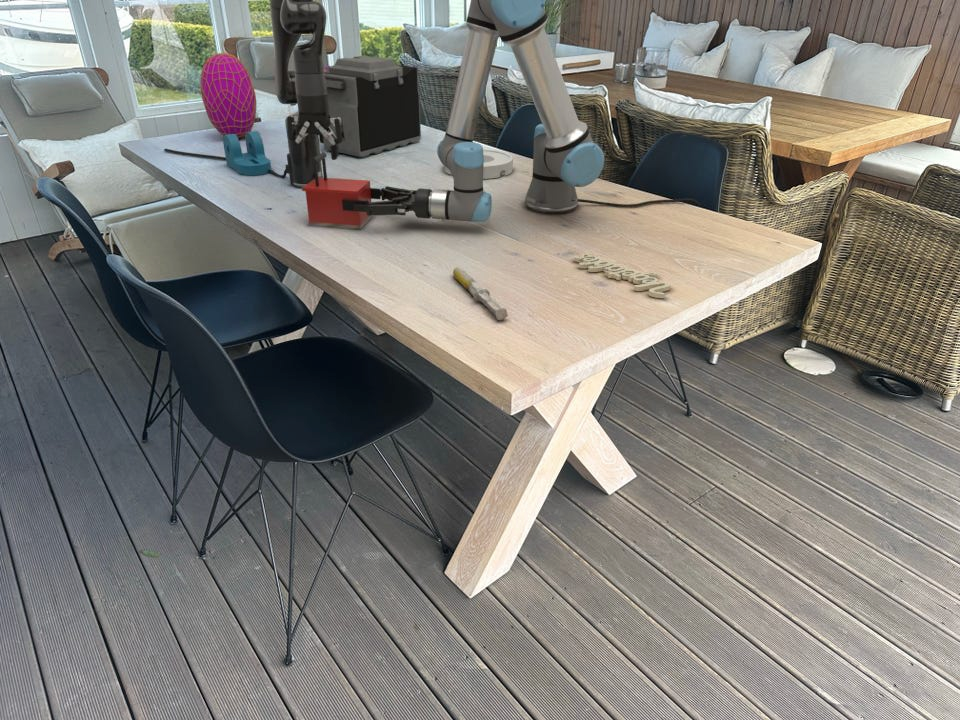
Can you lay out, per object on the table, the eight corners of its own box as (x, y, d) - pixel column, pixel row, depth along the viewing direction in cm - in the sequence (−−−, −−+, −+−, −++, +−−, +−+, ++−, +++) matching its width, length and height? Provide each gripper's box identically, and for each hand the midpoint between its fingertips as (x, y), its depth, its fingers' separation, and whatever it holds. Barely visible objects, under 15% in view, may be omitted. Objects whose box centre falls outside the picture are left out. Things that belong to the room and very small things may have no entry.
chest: (309, 225, 182) (305, 191, 177) (323, 213, 191) (320, 180, 186) (360, 229, 180) (357, 194, 175) (372, 217, 188) (370, 183, 184)
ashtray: (446, 160, 241) (446, 148, 239) (512, 161, 241) (512, 149, 239) (441, 178, 221) (440, 165, 219) (512, 179, 221) (513, 167, 219)
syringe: (449, 274, 155) (449, 263, 153) (465, 272, 156) (464, 260, 154) (490, 323, 135) (491, 310, 133) (508, 319, 136) (508, 307, 134)
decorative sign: (686, 282, 150) (660, 295, 144) (686, 286, 150) (659, 300, 144) (592, 249, 166) (565, 259, 160) (592, 253, 167) (565, 263, 161)
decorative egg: (226, 145, 255) (211, 58, 240) (200, 137, 266) (184, 53, 251) (271, 137, 268) (259, 54, 252) (244, 129, 279) (231, 49, 263)
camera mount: (227, 164, 233) (221, 132, 227) (257, 160, 238) (252, 129, 233) (244, 176, 220) (239, 143, 215) (276, 172, 225) (271, 139, 220)
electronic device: (383, 133, 276) (378, 52, 261) (425, 141, 265) (422, 56, 250) (314, 150, 251) (304, 61, 235) (358, 160, 240) (350, 67, 224)
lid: (302, 190, 177) (298, 159, 173) (317, 180, 186) (313, 149, 182) (357, 194, 175) (355, 162, 171) (370, 183, 184) (367, 152, 180)
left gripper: (278, 93, 167) (286, 160, 175) (333, 95, 165) (340, 163, 173) (290, 88, 174) (298, 153, 182) (344, 90, 171) (350, 156, 180)
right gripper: (421, 232, 170) (336, 226, 174) (441, 204, 190) (364, 199, 193) (420, 203, 167) (333, 197, 170) (441, 177, 186) (362, 172, 189)
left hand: (318, 158), depth 177 cm, fingers open, 8 cm apart
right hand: (350, 198), depth 181 cm, fingers closed on chest, 10 cm apart
